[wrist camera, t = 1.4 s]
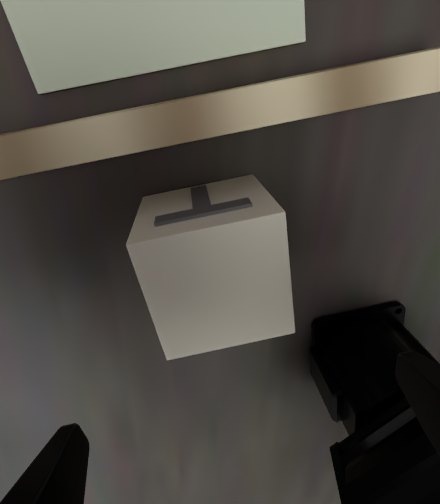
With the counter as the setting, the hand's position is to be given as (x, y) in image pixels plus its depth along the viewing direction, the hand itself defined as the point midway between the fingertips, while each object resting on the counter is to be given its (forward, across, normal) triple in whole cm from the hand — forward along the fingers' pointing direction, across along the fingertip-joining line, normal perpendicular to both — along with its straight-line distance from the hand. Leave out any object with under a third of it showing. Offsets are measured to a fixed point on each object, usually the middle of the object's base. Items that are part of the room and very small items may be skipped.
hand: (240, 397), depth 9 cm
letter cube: (+11, 0, 0) cm, 11 cm away
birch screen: (+11, 0, -7) cm, 13 cm away
